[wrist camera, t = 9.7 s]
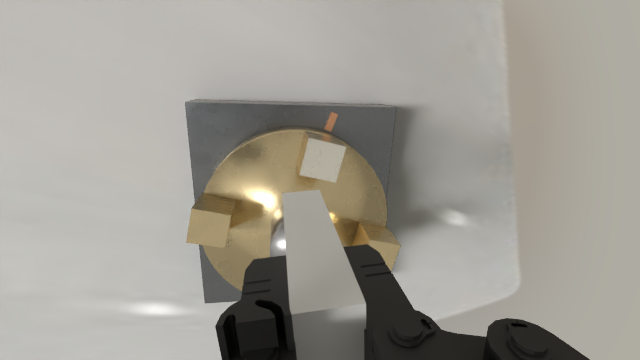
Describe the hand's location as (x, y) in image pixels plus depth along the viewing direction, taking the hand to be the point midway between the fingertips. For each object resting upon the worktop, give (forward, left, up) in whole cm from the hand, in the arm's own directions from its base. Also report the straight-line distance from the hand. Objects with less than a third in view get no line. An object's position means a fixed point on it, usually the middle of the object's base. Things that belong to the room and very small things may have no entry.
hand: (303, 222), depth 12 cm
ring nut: (+1, -8, -18) cm, 20 cm away
